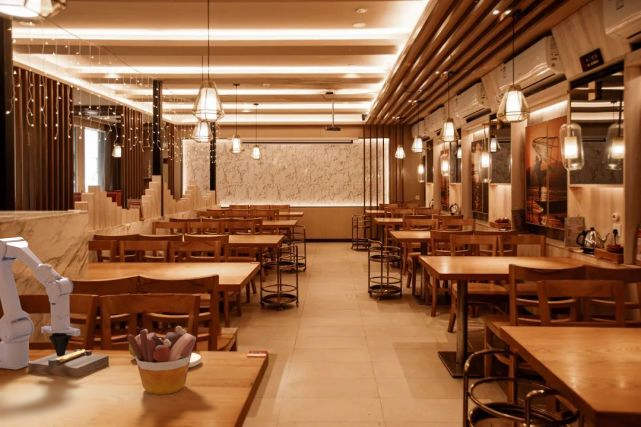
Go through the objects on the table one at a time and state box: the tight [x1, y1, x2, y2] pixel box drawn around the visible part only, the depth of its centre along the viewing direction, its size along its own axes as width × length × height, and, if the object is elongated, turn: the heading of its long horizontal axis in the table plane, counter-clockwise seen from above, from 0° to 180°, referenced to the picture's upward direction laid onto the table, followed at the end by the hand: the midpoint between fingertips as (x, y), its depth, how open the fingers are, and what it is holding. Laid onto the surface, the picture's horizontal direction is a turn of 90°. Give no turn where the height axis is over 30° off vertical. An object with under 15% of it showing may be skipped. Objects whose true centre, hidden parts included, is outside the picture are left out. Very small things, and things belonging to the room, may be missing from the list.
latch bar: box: [54, 349, 87, 362], centre depth 189 cm, size 3×12×1 cm, turn 161°
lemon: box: [128, 335, 138, 357], centre depth 200 cm, size 6×6×8 cm
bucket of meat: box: [126, 325, 197, 396], centre depth 167 cm, size 20×16×20 cm
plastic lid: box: [189, 352, 202, 368], centre depth 192 cm, size 14×14×2 cm
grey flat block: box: [27, 349, 110, 379], centre depth 189 cm, size 20×15×5 cm
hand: (61, 355), depth 185 cm, fingers closed
